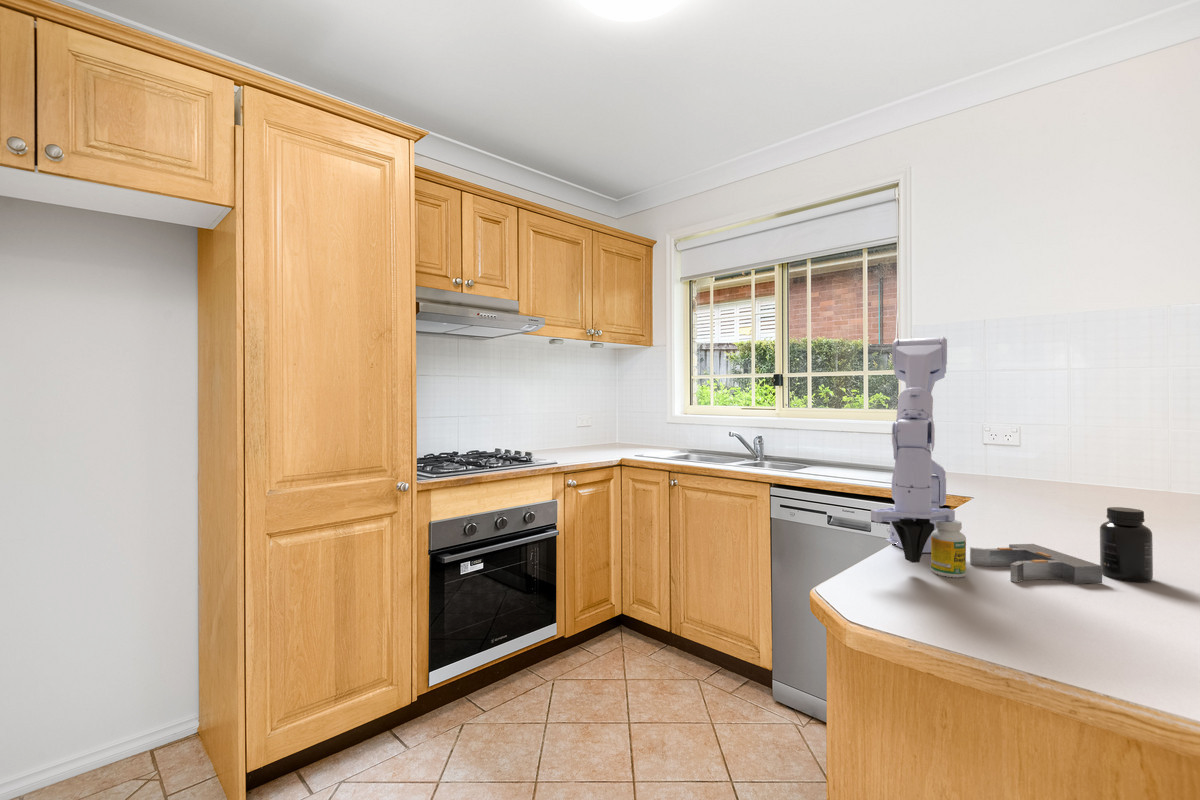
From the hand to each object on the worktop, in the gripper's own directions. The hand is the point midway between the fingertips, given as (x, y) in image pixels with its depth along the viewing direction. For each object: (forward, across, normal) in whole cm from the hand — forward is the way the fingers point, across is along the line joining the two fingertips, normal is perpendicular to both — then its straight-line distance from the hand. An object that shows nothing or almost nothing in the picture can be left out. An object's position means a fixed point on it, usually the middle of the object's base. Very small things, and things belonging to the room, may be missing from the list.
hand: (912, 560), depth 100 cm
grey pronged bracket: (+2, +22, 0) cm, 22 cm away
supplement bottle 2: (+3, +37, -4) cm, 37 cm away
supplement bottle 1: (+3, +7, 0) cm, 7 cm away
